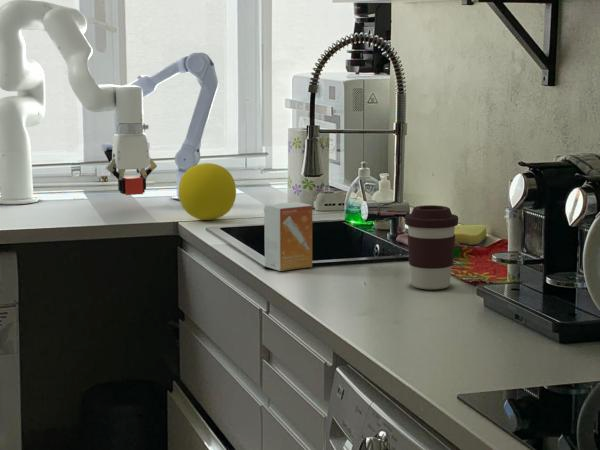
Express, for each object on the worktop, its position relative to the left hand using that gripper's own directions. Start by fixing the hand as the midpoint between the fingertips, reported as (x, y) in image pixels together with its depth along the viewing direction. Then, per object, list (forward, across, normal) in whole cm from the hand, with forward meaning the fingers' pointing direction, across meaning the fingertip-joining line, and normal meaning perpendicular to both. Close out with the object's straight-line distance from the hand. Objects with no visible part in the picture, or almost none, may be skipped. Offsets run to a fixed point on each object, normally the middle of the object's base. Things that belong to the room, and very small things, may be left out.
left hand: (132, 192), depth 300 cm
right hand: (-3, -4, -19) cm, 19 cm away
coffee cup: (+4, -21, +126) cm, 127 cm away
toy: (+4, -11, +31) cm, 33 cm away
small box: (+4, -4, +97) cm, 97 cm away
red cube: (0, 0, 0) cm, 0 cm away
